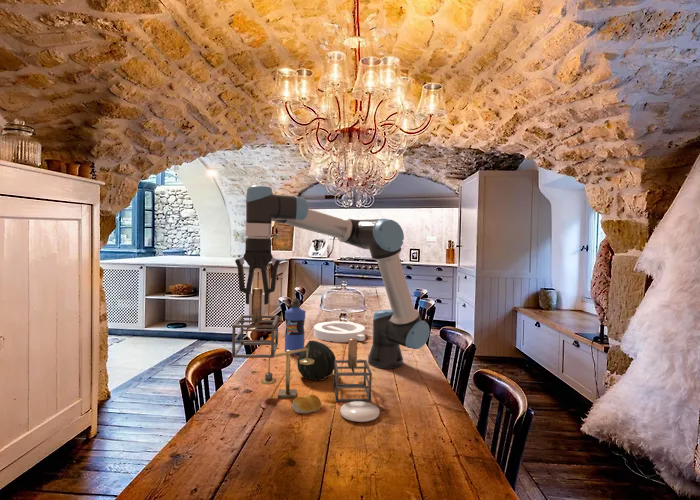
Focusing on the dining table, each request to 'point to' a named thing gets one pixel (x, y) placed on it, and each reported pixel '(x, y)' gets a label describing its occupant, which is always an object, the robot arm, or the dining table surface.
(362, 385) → the metal bar cube frame
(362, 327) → the ring with crossbar
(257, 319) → the wire frame cage
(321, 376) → the squash
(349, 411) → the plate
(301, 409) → the bread roll
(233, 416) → the dining table surface
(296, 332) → the water bottle
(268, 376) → the balance
